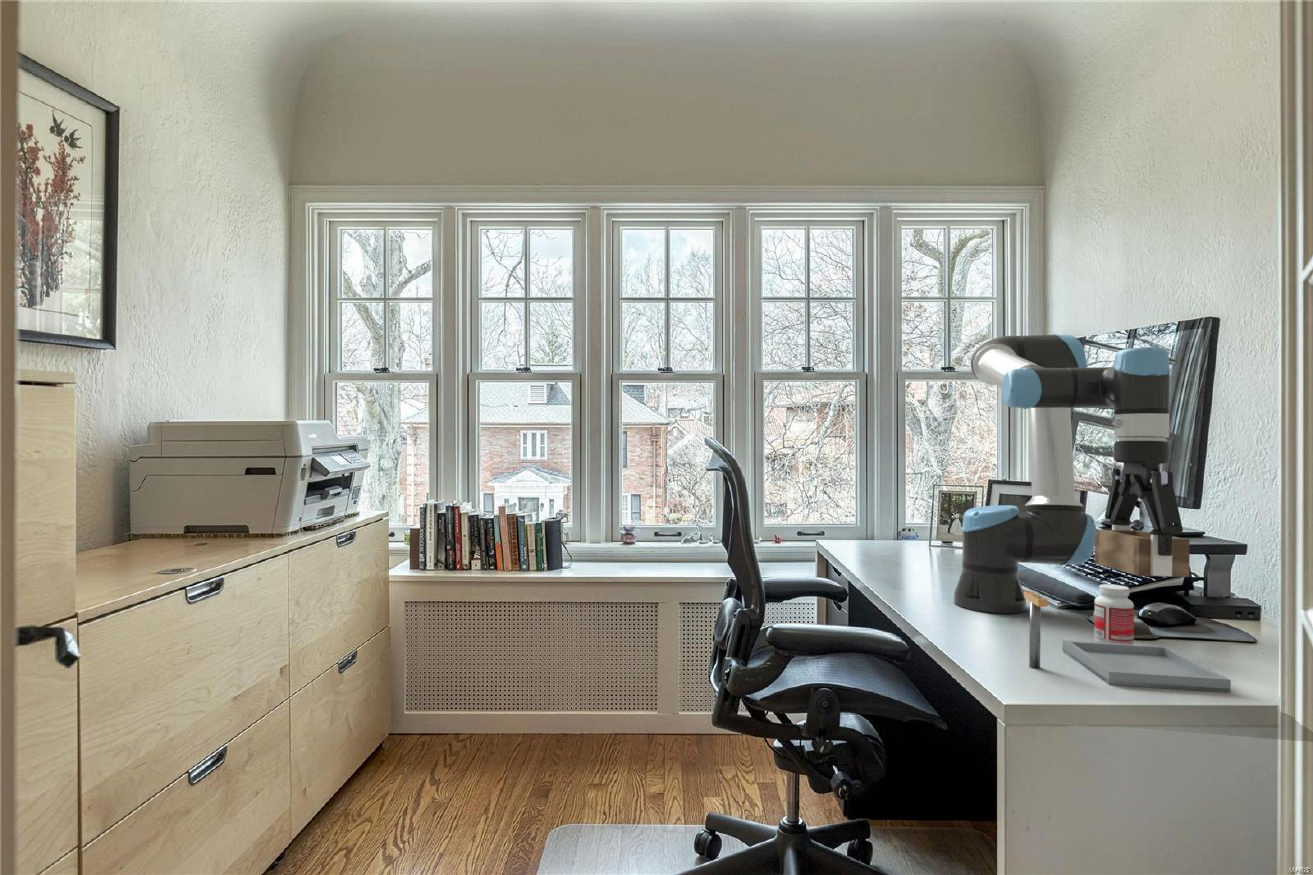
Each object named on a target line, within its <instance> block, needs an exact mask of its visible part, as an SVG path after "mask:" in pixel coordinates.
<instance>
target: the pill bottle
mask: <svg viewBox="0 0 1313 875" xmlns="http://www.w3.org/2000/svg"><path fill="white" fill-rule="evenodd" d="M1098 586H1099V588H1098V589H1099V590H1098V592H1099V594H1100V595H1098V596H1096V598H1094V628H1093V629H1094V642H1103V643H1120V644H1135V635H1134V634H1135V630H1134V629H1135V626H1134V625H1135V608H1134V607H1135V605H1134V603H1133V601H1132V600H1131V599H1129V598H1128V597H1129V596H1130V588H1129V587H1128V586H1125V585H1120V584H1119V585H1118V584H1107V583H1106V584H1105V583H1104V584H1100V585H1098Z"/></svg>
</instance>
